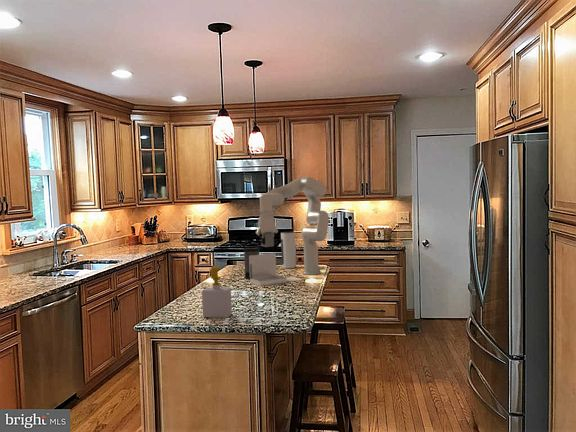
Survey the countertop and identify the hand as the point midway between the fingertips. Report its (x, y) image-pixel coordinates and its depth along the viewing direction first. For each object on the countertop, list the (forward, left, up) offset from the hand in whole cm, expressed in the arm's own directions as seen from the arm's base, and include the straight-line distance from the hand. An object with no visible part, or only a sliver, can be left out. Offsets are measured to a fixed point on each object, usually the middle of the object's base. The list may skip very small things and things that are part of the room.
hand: (267, 243), depth 300 cm
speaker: (-38, -43, -25) cm, 62 cm away
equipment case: (0, 0, -24) cm, 24 cm away
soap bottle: (+54, +55, -25) cm, 81 cm away
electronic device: (+2, -19, -25) cm, 31 cm away
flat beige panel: (-16, 0, -24) cm, 29 cm away
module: (0, 0, -1) cm, 1 cm away
